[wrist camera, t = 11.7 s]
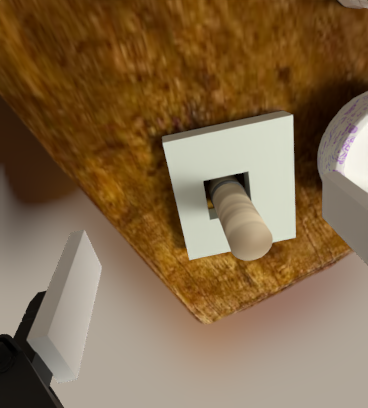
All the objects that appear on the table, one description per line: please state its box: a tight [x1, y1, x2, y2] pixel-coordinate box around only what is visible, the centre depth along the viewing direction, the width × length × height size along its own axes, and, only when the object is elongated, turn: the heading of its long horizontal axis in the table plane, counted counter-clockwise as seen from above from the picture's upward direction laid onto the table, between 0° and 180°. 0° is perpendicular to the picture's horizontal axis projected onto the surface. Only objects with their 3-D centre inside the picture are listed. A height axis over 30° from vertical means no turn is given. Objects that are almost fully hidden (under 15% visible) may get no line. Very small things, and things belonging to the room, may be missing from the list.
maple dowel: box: [208, 175, 273, 260], centre depth 37 cm, size 5×5×14 cm
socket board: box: [162, 110, 296, 260], centre depth 42 cm, size 18×16×3 cm
